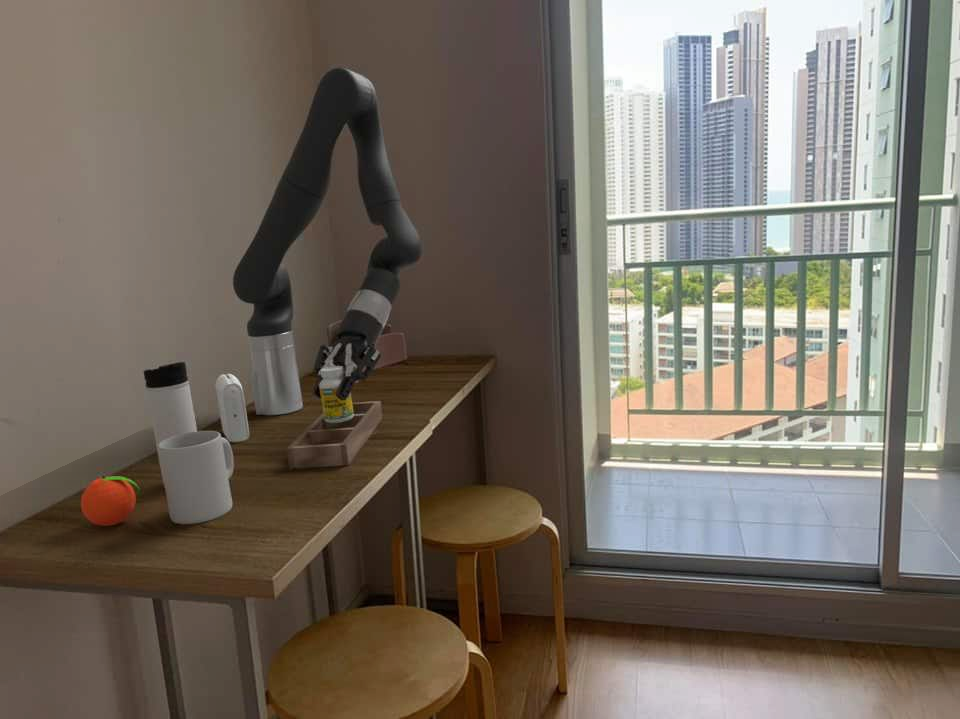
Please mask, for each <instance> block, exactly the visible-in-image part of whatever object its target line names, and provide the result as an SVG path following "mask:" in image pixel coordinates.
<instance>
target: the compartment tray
mask: <svg viewBox="0 0 960 719" xmlns="http://www.w3.org/2000/svg"><path fill="white" fill-rule="evenodd" d="M352 405H353V412H354V416H353V418H352V419H350V420H348V421H344V422H340V423H328V422H326V421H325V420H324V414H323V412H322V413H321V414H320V415H319V416H318V417H317V418H316V419H315V420H314V421H313V422H312V423H311V424H310V425H309V426H308V427H307V428H306V429H305V430H304V431H303V432H302V433H301V434H300V435H299V436H298V437H297V438H296V439H295V440H294V441H293V442H291V444H289V445H288V447H287V448H286V452H287V460H288V467H289V469H290V468H291V469H290V470H292V468H296V469H310V467H311V468H312V469H313V468H324V467H340V466H341V467H343V466H350V465H351V463H352V462H353V460H354V459H355V458H356V456H357V454H358V453H359V452H360V450H361V449H362V448H363V446H364V445H365V443H366V442H367V440H368V439H369V438H370V436H371V435H372V433H373V432H374V431H373V430H375V429H376V428H377V426H378V425H379V423H380V422H381V420H382V419H383V410H382V403H381V400H375V401H362V402H360V401H359V402H352Z"/></svg>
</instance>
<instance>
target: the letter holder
mask: <svg viewBox="0 0 960 719" xmlns="http://www.w3.org/2000/svg"><path fill="white" fill-rule="evenodd" d="M342 320H343V319H340V320H337V321H335V322H333V323H331V324H329V325H328V326H327V328H326V332H327V335H326V336H327V342H328V347H332V346H333V345H334V343H335V342H336V341H337V340H338V328H339V326H340V324H341V322H342ZM374 348H376V349H377V350H378V351H379V352H380V353H381V357H380V359H379V360H378V362H377V364H376V365H375V367H374V368H373V370H372V371H376V370H379V369H382V368H385V367H388V366H392V365H394V364H398V363H401V362H404V361H407V359H408V356H407V348H406V341H405V335H404V334H403V333H402V332H393V329H392V325H391V324H389V323H386V324H385V326H384V328H383V330H382V332H381V335H380V337H379V339H378V341H377V343H376V345H375V347H374ZM333 364H334V365H335V366H337V364H336V363H335V362H334V360H333ZM365 369H366V366H365V367H364V368H363V370H362V371H363V372H364V371H365ZM343 371H344V374H343V375H345V374H346V367H344V368H343ZM372 371H371V372H372Z"/></svg>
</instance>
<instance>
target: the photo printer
mask: <svg viewBox="0 0 960 719" xmlns="http://www.w3.org/2000/svg"><path fill="white" fill-rule="evenodd" d="M215 392H216V397H217V403H218V410H219V415H220V422H221V428H222V429H221V430H222V431H223V435H224V436H225V439H227V440H228V442H229V443H230V442H231V443H240V442H244V441H247V440H248V439H249V438H250V429H249V428H250V427H249V422H248V421H249V420H248V415H247V409H246V403H245V396H244V390H243V386H242V384H241V382H240V380H239V379H238V377H236V376H235V375H233V374H231V373H226V374H223V373H222V374H221V375H219V376H218V377H217V378H216V381H215Z"/></svg>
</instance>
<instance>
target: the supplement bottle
mask: <svg viewBox="0 0 960 719" xmlns="http://www.w3.org/2000/svg"><path fill="white" fill-rule="evenodd" d="M344 375H345V374H344V371H343V367H342V366H331V367H326V368H323V369H321V376H322V378H323V380H322V381H321V382H320V384H319V388H320V395H321V398H320V400H321V407H322V413H323V414H324V420H325V421H326V422H328V423H340V422H344V421H348V420H350V419H352V418H353V416H354V412H353V405H352V403H353V401H352V391H351V392H350V395H349V396H348V397H347V399H346V400H340V399H339V398H338V397H337V396H336V392H337V390H338V388H339V386H340V384H341V381H342V379H343V377H344Z"/></svg>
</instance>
